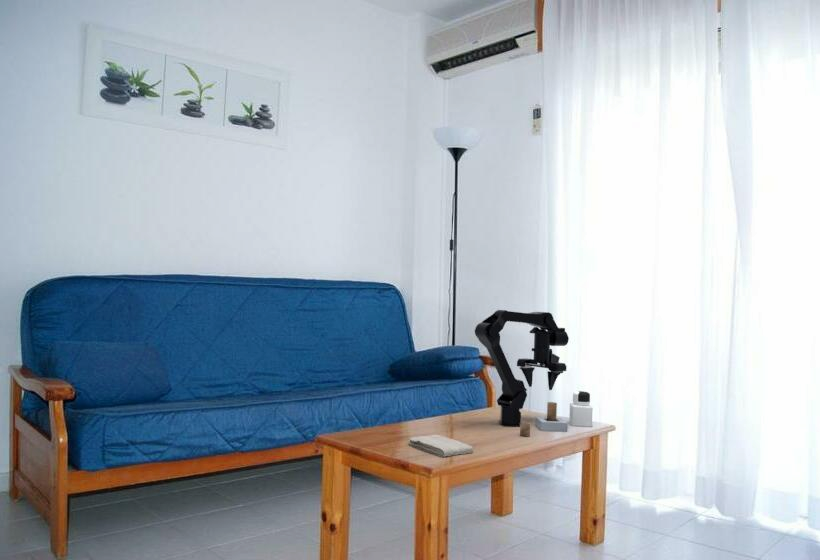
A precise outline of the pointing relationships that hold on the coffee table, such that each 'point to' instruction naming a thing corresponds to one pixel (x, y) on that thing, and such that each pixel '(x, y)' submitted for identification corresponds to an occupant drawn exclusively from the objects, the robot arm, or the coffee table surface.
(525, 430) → the short stub
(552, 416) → the long dowel
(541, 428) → the collar block
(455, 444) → the washcloth
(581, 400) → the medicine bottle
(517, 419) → the robot arm
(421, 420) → the coffee table surface
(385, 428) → the coffee table surface
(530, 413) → the coffee table surface
